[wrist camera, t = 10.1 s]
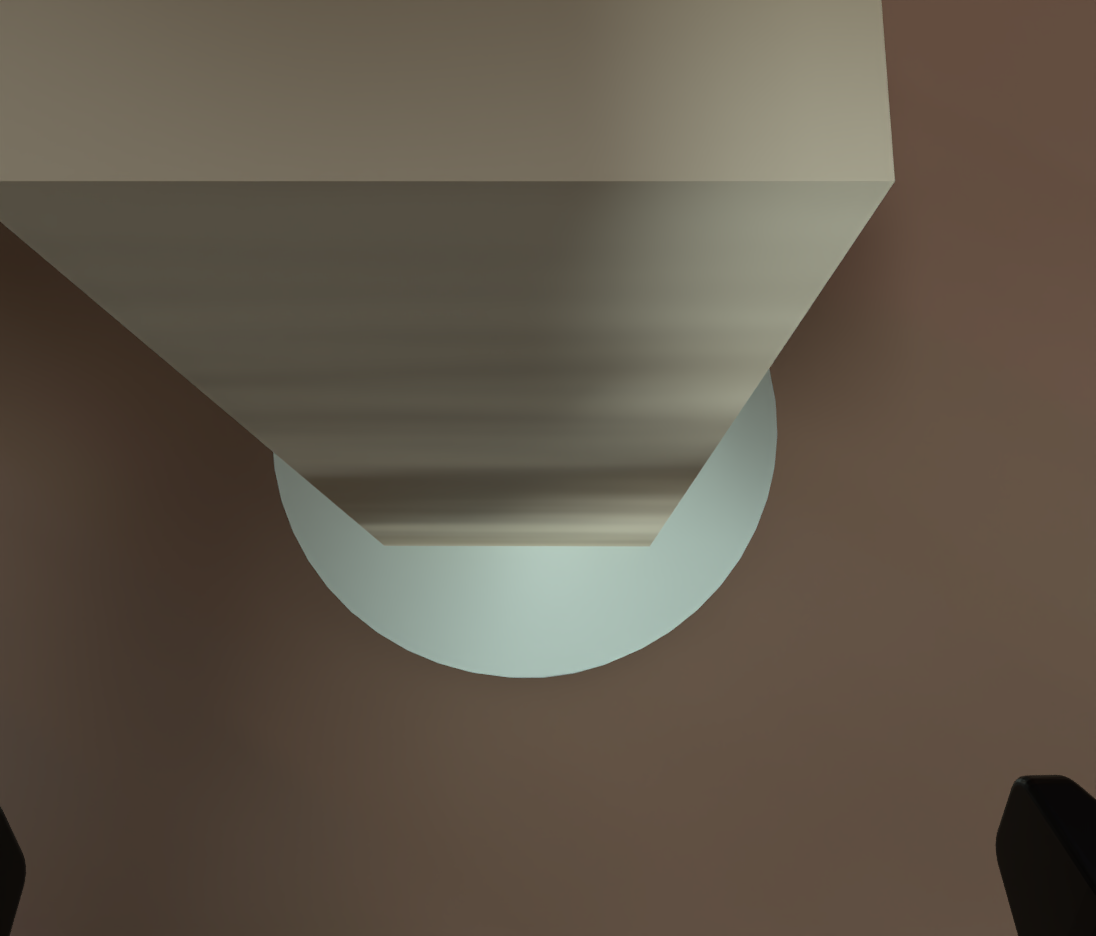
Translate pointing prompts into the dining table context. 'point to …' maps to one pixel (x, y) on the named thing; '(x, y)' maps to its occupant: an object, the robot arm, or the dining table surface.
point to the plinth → (546, 571)
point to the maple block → (455, 228)
